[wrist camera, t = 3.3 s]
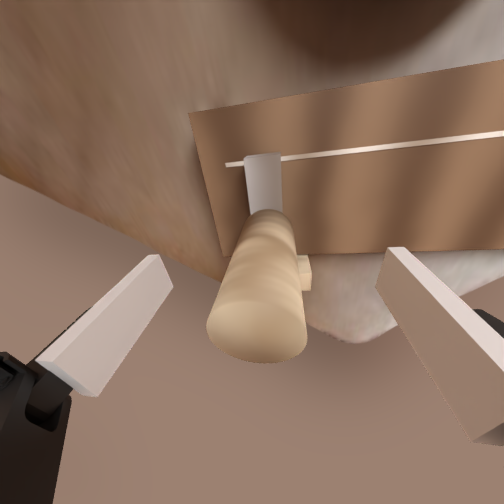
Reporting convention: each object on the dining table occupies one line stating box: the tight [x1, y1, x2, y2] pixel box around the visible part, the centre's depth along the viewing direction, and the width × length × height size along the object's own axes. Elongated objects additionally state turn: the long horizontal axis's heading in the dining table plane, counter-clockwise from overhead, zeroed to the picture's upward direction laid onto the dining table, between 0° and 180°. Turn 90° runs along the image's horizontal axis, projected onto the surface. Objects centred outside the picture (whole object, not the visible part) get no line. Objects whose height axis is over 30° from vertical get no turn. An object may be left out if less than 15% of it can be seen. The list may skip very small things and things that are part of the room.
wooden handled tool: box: [206, 152, 312, 363], centre depth 13 cm, size 7×11×14 cm, turn 7°
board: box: [188, 60, 504, 257], centre depth 15 cm, size 30×12×3 cm, turn 97°
